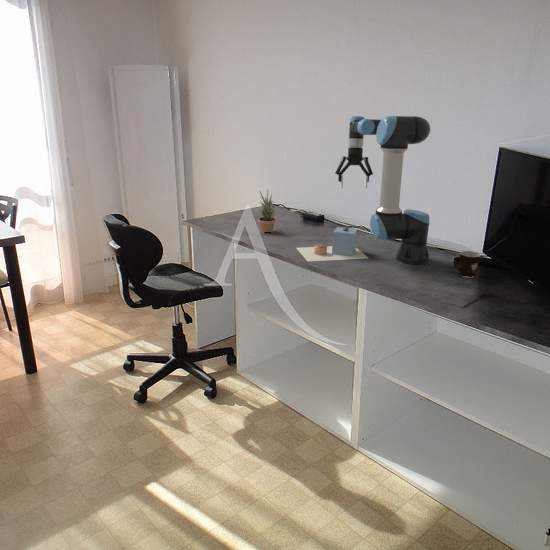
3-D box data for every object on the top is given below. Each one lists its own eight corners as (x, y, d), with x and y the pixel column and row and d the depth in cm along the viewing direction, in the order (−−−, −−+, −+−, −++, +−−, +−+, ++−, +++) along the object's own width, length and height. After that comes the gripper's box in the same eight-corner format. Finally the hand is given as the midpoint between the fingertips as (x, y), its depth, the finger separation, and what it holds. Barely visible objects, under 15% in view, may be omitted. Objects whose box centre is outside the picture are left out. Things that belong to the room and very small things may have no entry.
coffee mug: (474, 273, 229) (478, 251, 225) (479, 279, 221) (483, 257, 217) (447, 271, 230) (450, 250, 226) (451, 278, 222) (454, 256, 218)
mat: (368, 259, 246) (368, 258, 245) (307, 262, 240) (307, 261, 239) (352, 245, 266) (352, 245, 266) (295, 248, 260) (295, 247, 260)
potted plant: (255, 232, 288) (255, 187, 279) (263, 228, 296) (263, 185, 287) (271, 234, 283) (271, 189, 275) (279, 231, 291) (279, 187, 283)
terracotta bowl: (328, 254, 249) (328, 247, 248) (316, 255, 248) (316, 248, 247) (324, 251, 255) (325, 244, 254) (312, 251, 254) (313, 244, 252)
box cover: (356, 250, 257) (357, 226, 253) (352, 256, 248) (354, 231, 244) (336, 248, 260) (337, 224, 256) (331, 253, 251) (333, 229, 247)
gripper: (375, 147, 279) (372, 188, 283) (330, 146, 274) (328, 187, 278) (380, 147, 272) (377, 188, 276) (335, 146, 267) (333, 188, 271)
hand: (353, 188), depth 277 cm, fingers open, 13 cm apart
